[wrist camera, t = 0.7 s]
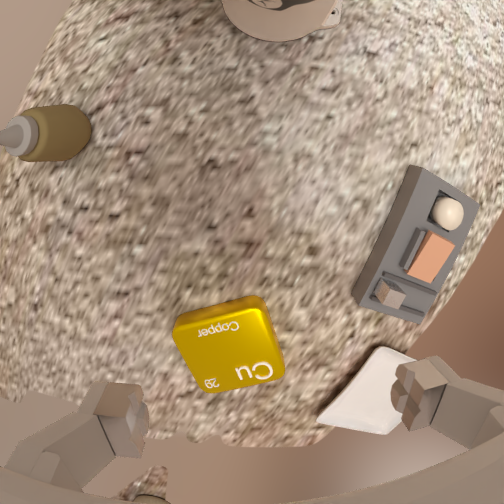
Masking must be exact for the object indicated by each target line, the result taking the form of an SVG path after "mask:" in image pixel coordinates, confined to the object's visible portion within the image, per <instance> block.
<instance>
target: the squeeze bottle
mask: <svg viewBox="0 0 504 504" xmlns="http://www.w3.org/2000/svg"><path fill="white" fill-rule="evenodd" d="M90 135H91V124H90V121H89V119H88V118H87V117H86V115H85V114H84V113H83V112H82V111H81V110H79V109H78V108H77V107H76V106H73V105H68V104H62V105H52V106H43V107H35V108H30V109H28V110H25V111H24V112H23V113H22V114H21V115H20V116H16V117H14V118H12V119H11V120H10V122H9V123H8V125H7V127H6V129H4V130H2V131H0V145H3V146H5V148H6V150H7V152H8V153H9V154H10V155H12V156H16V157H17V156H18V157H19V158H20V159H21V160H23V161H27V162H42V161H64V160H68V159H71V158H72V157H74V156H75V155H76V154H78V153H79V152H80V151H81V150H82V149H83V148H84V147H85V146H86V144H87V143H88V141H89V139H90Z"/></svg>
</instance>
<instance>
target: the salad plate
mask: <svg viewBox="0 0 504 504" xmlns="http://www.w3.org/2000/svg"><path fill="white" fill-rule="evenodd" d="M413 361H417V360H416V359H413V358H411V357H409V356H406V355H404V354H402V353H400V352H398V351H395V350H393V349H391V348H388V347H385V346H379V347H377V348H376V349H375V350H374V351H373V352H372V354H371V355H370V356H369V358H368V359H367V361H366V362H365V363H364V365H363V366H362V367H361V369H360V370H359V371H358V372H357V374H356V375H355V376H354V377H353V379H352V380H351V381H350V382H349V383H348V384H347V386H346V387H345V388H344V389H343V390H342V391H341V392H340V393H339V394H338V396H337V397H336V398H335V399H334V400H333V401H332V402H331V403H330V404H329V405H328V406H327V407H326V408H325V409H324V410H323V411H322V412H321V413H320V414H319V416H318V417H317V419H316V421H317V422H318V423H322V424H327V425H332V426H337V427H342V428H348V429H353V430H359V431H365V432H370V433H376V434H383V435H385V434H388V433H389V432H390V431H391V430H392V429H394V428H395V427H396V426H397V425H398V424H399V423H400V422H401V421H402V420H401V417H402V413H400V412H398V411H396V410H395V409H394V407H393V405H392V402H391V395H390V392H391V388H392V385H393V384H394V382H395V381H396V380H397V377H396V376H395V372H396V369H397V367H398V365H399V364H404V363H408V362H413Z"/></svg>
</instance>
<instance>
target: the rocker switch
mask: <svg viewBox="0 0 504 504" xmlns="http://www.w3.org/2000/svg"><path fill="white" fill-rule="evenodd" d="M454 247H455V245H454V244H453V243H452V242H451V241H449V240H447V239H446V238H444V237H442V236H440V235H438V234H436V233H434V232H432V231H430V230H428V232H427V234H426V235H425V237H424V239H423V240H422V242H421V244H420V246H419V248H418V250H417V252H416V254H415V256H414V258H413V260H412V262H411V264H410V266H409V268H408V270H406V269H404V270H405V272H406V273H407V274H408V275H411V276H413V277H416V278H418V279H420V280H423V281H425V282H428V283H430V284H431V282H432V281H433V279H434V278H435V276H436V275H437V273H438V272H439V270H440V269H441V267H442V266H443V264H444V263H445V261H446V260H447V258H448V256H449V255H450V253H451V252H452V250H453V248H454Z"/></svg>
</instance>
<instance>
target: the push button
mask: <svg viewBox="0 0 504 504" xmlns="http://www.w3.org/2000/svg"><path fill="white" fill-rule="evenodd" d="M463 215H464V211H463V207H462V205H461V203H460V202H458V201H456V200H454V199H451V198H449V197H446V196H439V197H437V198H436V199H435V201H434V203H433V206H432V208H431V210H430V216H431V219H432V220H433V222H435V223H436V224H438V225H440V226H441V227H443V228H445V229H447V230H454V229H456V228H457V227H458V226H459V225H460V224H461V222H462V220H463Z"/></svg>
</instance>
